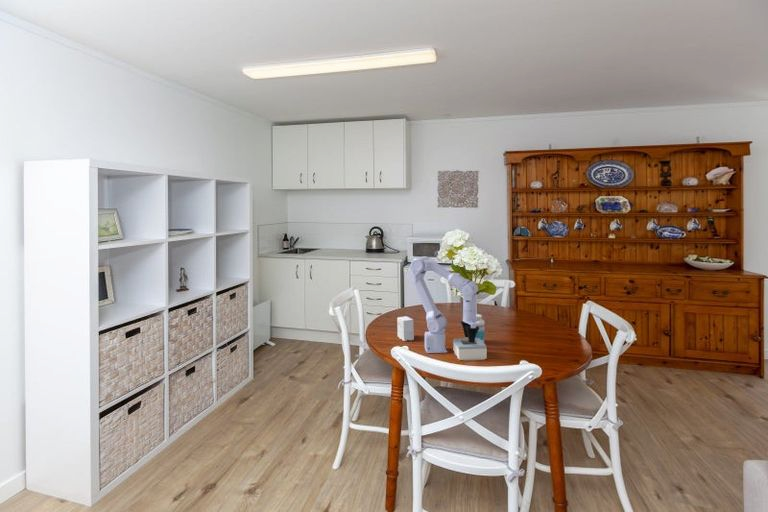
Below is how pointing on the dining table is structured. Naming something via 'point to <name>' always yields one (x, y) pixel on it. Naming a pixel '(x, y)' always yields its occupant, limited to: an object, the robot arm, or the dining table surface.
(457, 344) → the money box
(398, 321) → the small box
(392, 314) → the dining table surface
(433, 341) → the robot arm
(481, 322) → the pill bottle
